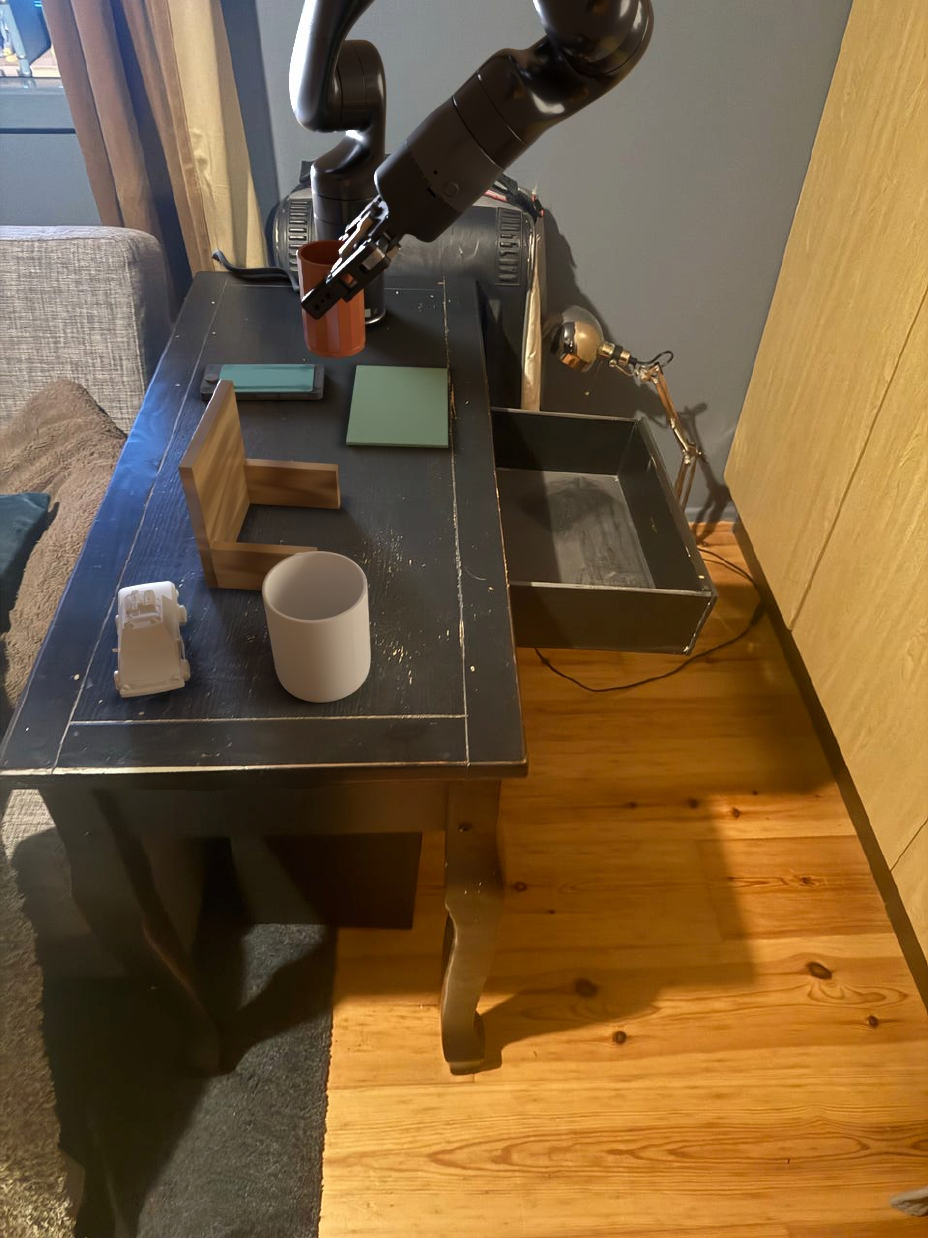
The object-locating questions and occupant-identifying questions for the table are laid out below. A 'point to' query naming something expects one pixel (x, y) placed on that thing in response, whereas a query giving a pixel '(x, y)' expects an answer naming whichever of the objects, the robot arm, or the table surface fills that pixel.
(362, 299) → the cup
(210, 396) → the smartphone
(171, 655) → the toy car
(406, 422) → the mat
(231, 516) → the cubby
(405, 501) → the table surface
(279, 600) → the mug
